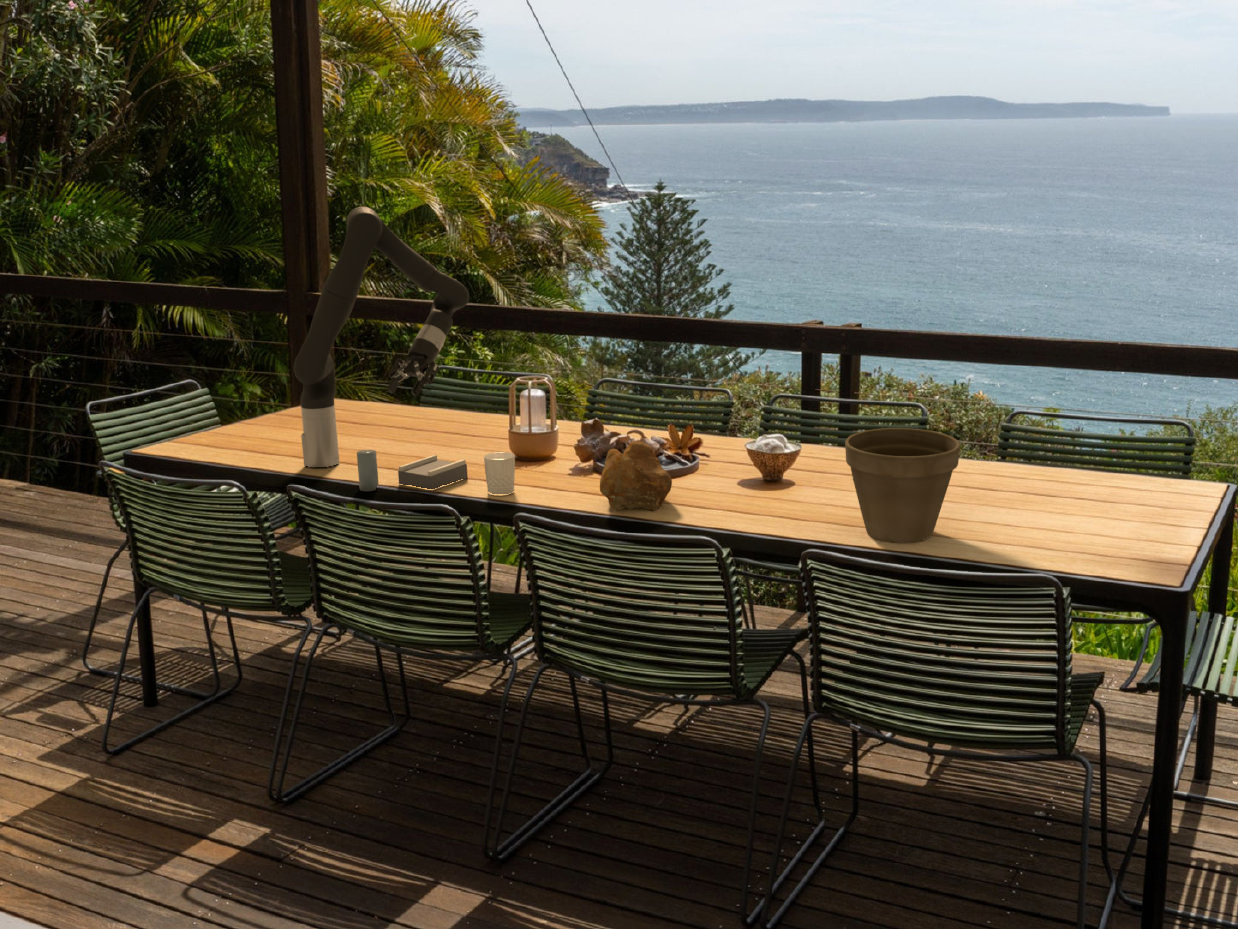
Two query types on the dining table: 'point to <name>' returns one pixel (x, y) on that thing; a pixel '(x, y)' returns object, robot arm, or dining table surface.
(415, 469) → the block
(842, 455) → the dining table surface
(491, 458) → the white cup
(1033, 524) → the dining table surface
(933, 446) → the plant pot
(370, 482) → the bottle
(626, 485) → the rough brown rock
